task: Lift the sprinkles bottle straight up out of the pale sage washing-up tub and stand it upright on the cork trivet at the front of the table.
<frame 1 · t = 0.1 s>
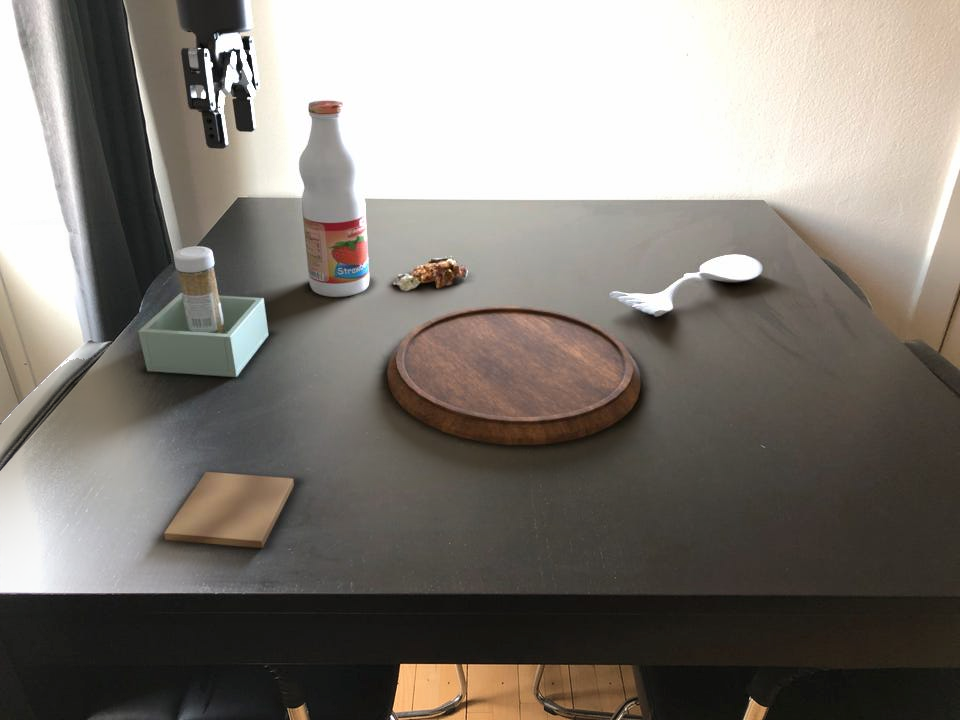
hand: (232, 139, 85), 28 cm above the table, tool pointing down, fingers open, 8 cm apart
pastry: (430, 282, 120), on the table
trivet: (233, 512, 70), on the table
tub: (211, 353, 98), on the table
cutting board: (513, 374, 95), on the table
spoon: (692, 295, 118), on the table
sprinkles bottle: (210, 349, 97), point 1 cm above the table, touching tub
fruit juice: (340, 287, 118), on the table
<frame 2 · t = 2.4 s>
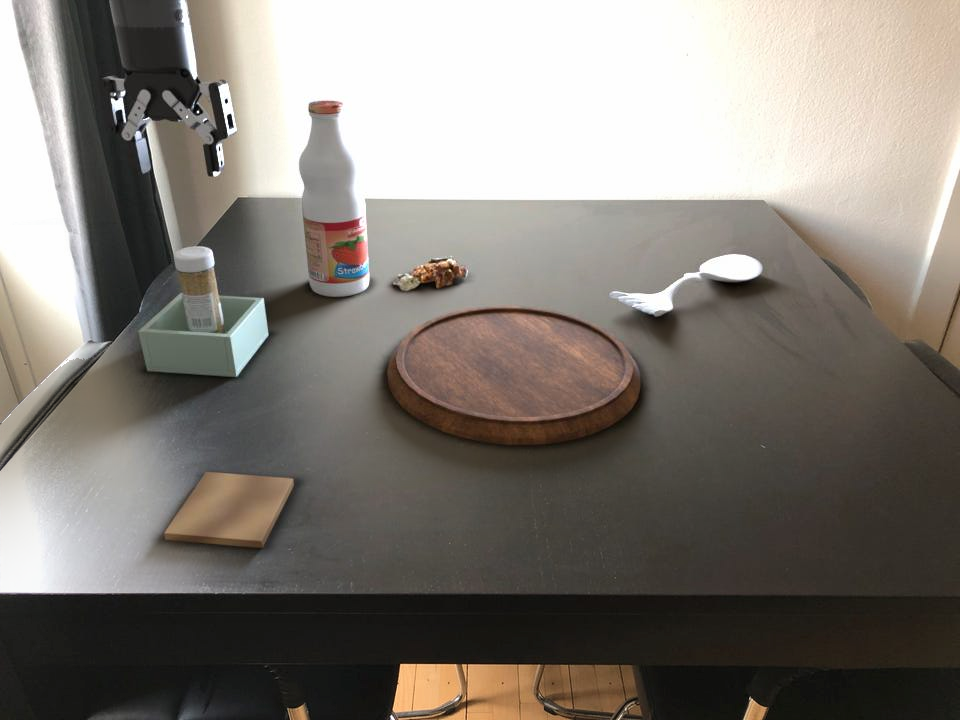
hand: (179, 173, 86), 24 cm above the table, tool pointing down, fingers open, 8 cm apart
nothing on the table moved.
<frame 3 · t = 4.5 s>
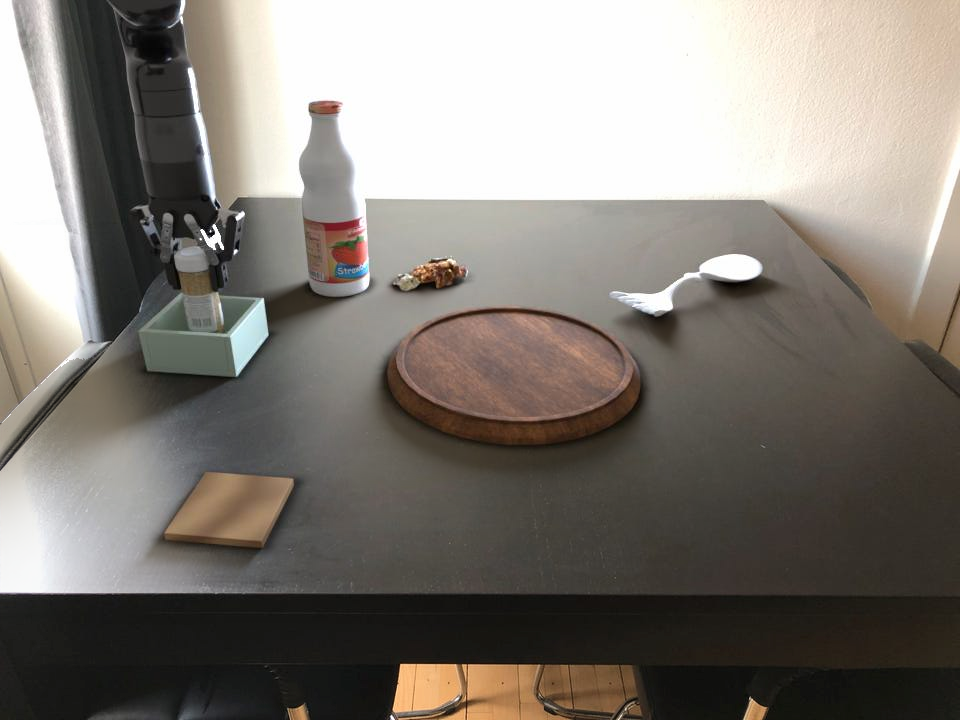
hand: (199, 288, 93), 9 cm above the table, tool pointing down, fingers closed on sprinkles bottle, 4 cm apart
sprinkles bottle: (210, 349, 97), point 1 cm above the table, touching gripper, tub
everything else where it was.
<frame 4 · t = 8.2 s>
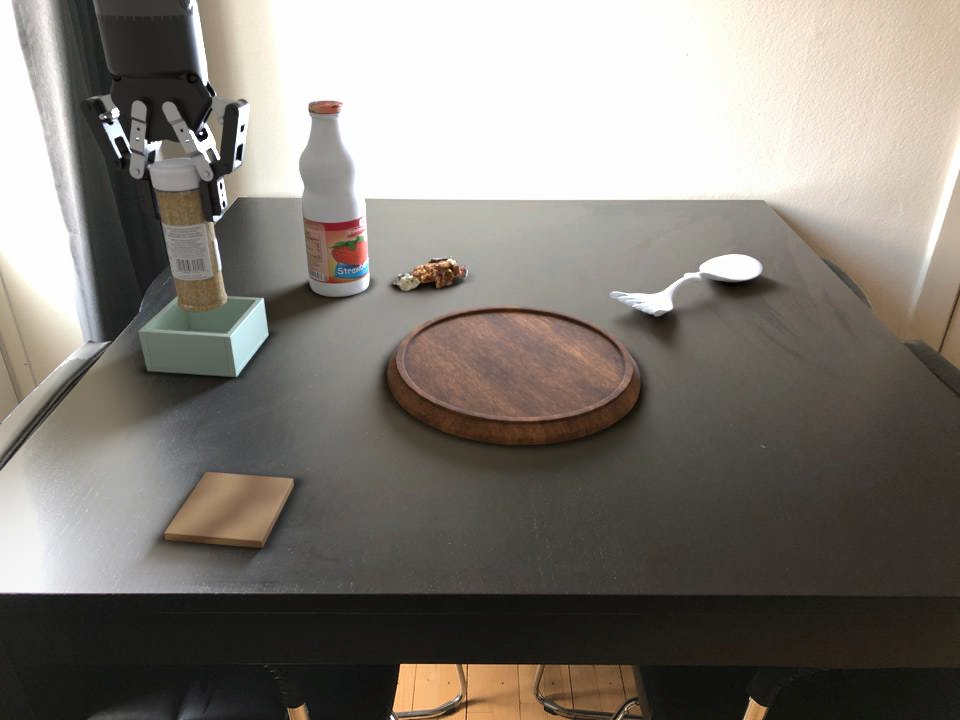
hand: (186, 217, 66), 26 cm above the table, tool pointing down, fingers closed on sprinkles bottle, 4 cm apart
sprinkles bottle: (203, 306, 71), point 17 cm above the table, touching gripper
everything else where it was.
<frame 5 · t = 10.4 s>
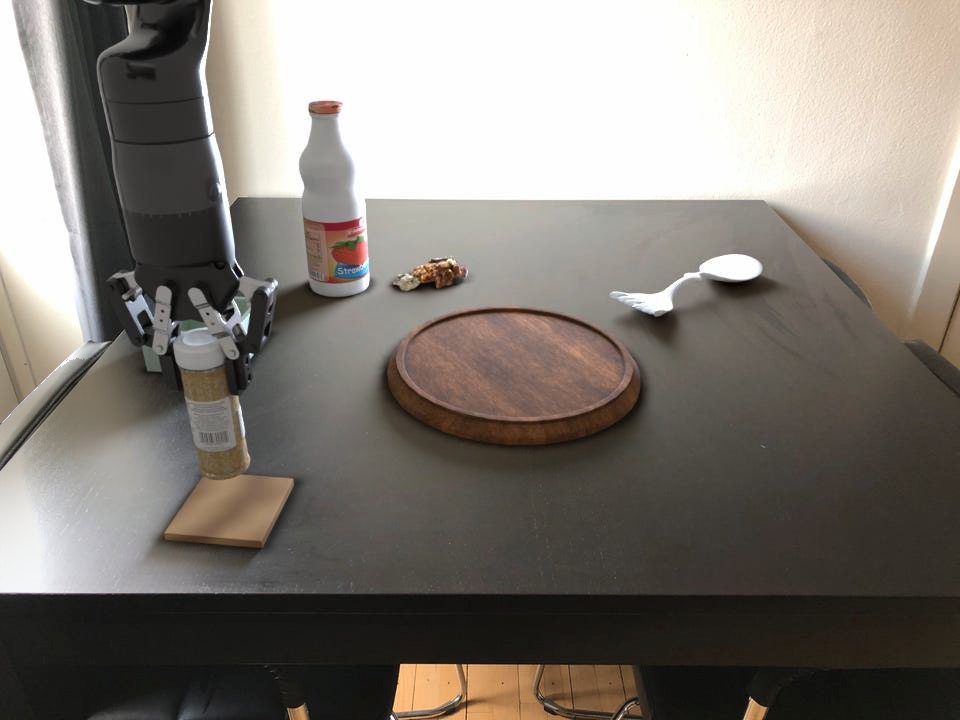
hand: (210, 388, 64), 14 cm above the table, tool pointing down, fingers closed on sprinkles bottle, 4 cm apart
sprinkles bottle: (225, 469, 68), point 5 cm above the table, touching gripper
everything else where it was.
when the fingers open (10 cm above the table, at t = 11.8 s): sprinkles bottle stays where it is, resting on trivet.
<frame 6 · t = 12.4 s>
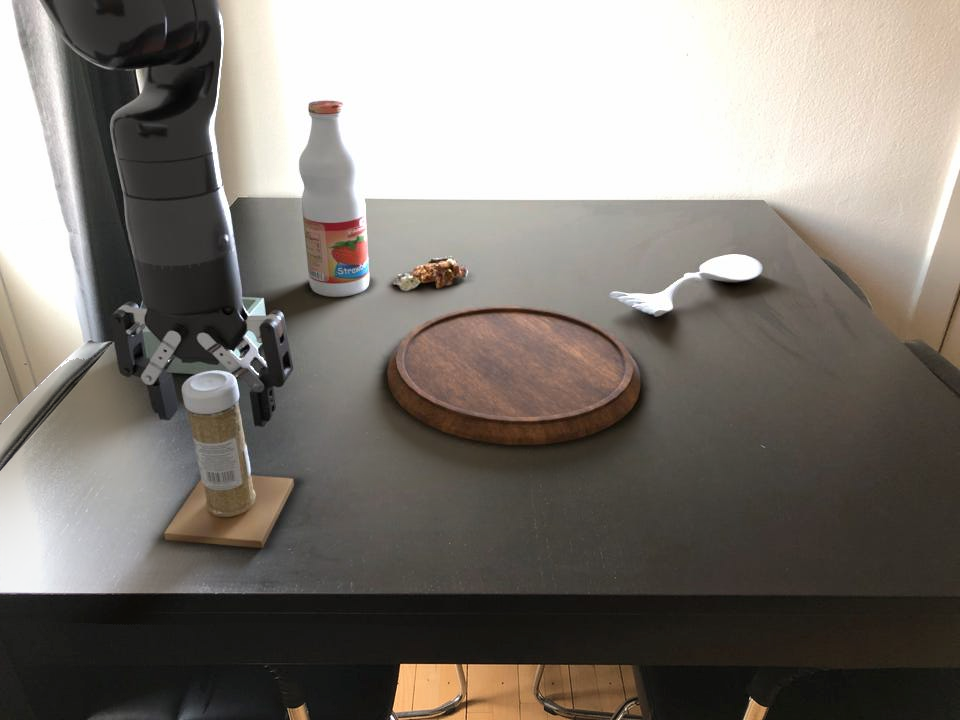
hand: (215, 418, 65), 11 cm above the table, tool pointing down, fingers open, 8 cm apart
sprinkles bottle: (231, 505, 70), point 1 cm above the table, touching trivet
everything else where it was.
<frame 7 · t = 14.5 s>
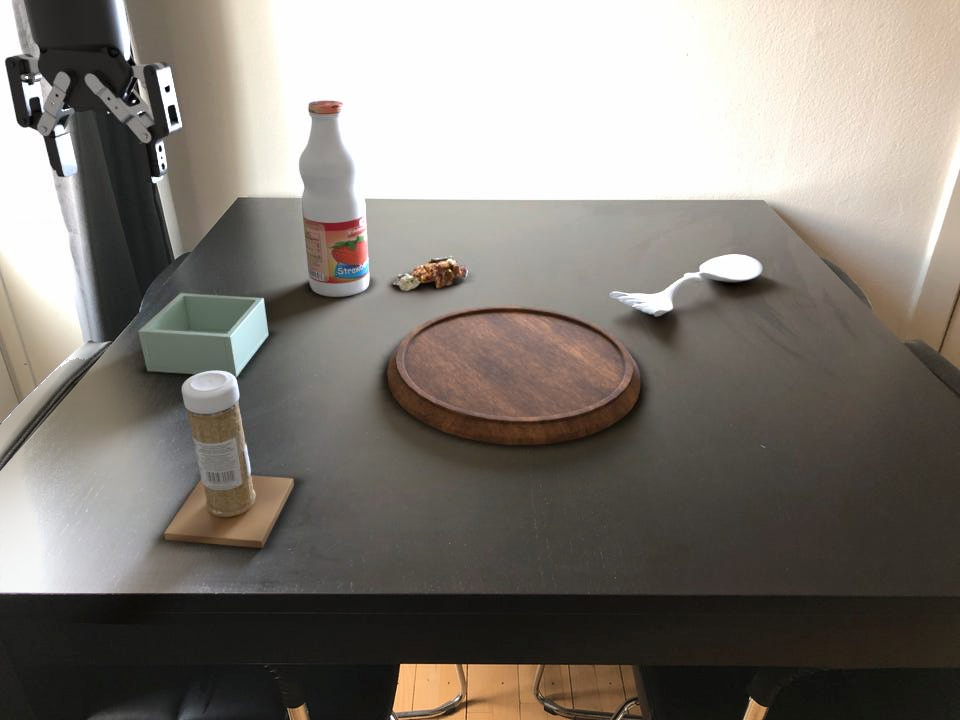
hand: (111, 178, 69), 28 cm above the table, tool pointing down, fingers open, 8 cm apart
nothing on the table moved.
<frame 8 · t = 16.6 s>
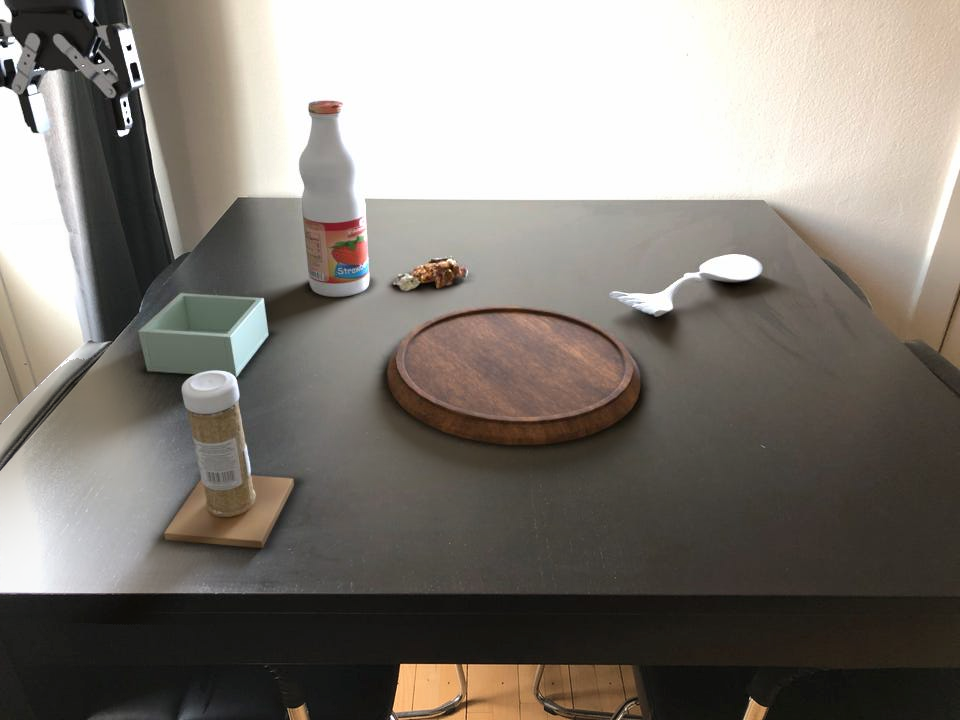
hand: (81, 133, 76), 30 cm above the table, tool pointing down, fingers open, 8 cm apart
nothing on the table moved.
at the end: sprinkles bottle 0.1 cm off-centre on the trivet, point 0.8 cm above the trivet's base; sprinkles bottle tilted 0°; the gripper is holding nothing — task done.
